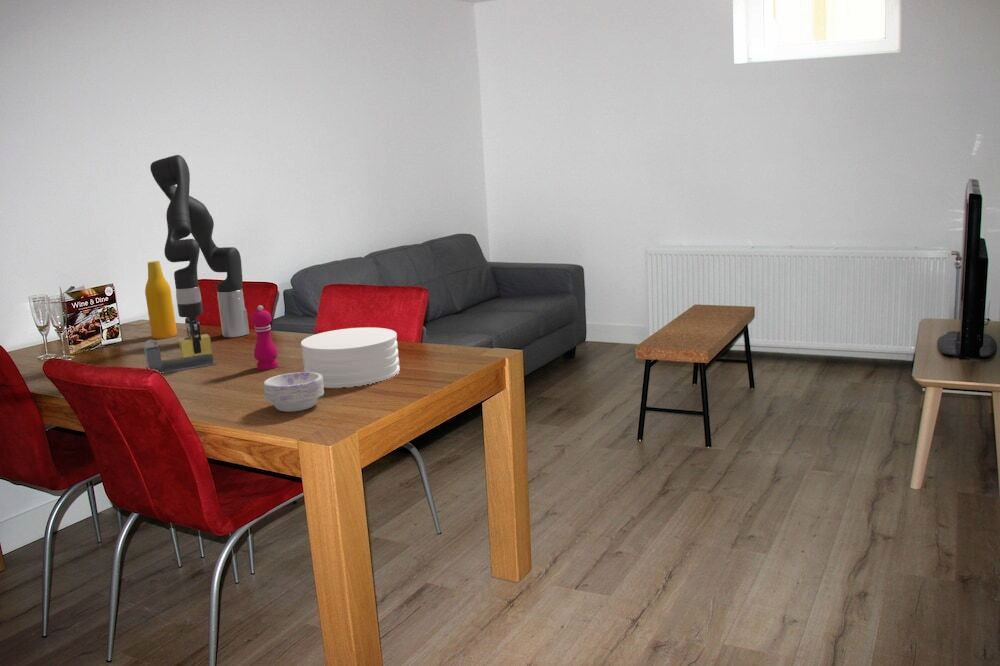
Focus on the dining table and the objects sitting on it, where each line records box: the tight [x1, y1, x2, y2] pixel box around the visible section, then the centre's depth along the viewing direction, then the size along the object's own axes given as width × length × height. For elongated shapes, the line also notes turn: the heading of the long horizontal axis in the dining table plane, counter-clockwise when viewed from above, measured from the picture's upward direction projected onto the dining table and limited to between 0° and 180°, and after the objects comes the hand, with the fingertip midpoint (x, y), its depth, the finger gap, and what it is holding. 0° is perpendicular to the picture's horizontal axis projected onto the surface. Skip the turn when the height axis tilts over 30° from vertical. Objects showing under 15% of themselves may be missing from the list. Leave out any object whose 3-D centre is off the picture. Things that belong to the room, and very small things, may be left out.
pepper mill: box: [251, 304, 279, 371], centre depth 267 cm, size 7×7×20 cm
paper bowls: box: [263, 371, 325, 413], centre depth 224 cm, size 15×15×8 cm
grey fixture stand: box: [143, 339, 217, 374], centre depth 276 cm, size 20×12×10 cm, turn 118°
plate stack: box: [300, 327, 401, 389], centre depth 253 cm, size 28×28×12 cm
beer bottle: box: [144, 260, 178, 340], centre depth 325 cm, size 9×9×29 cm
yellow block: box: [178, 333, 213, 358], centre depth 278 cm, size 9×6×6 cm, turn 118°
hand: (196, 351), depth 279 cm, fingers closed on yellow block, 5 cm apart
